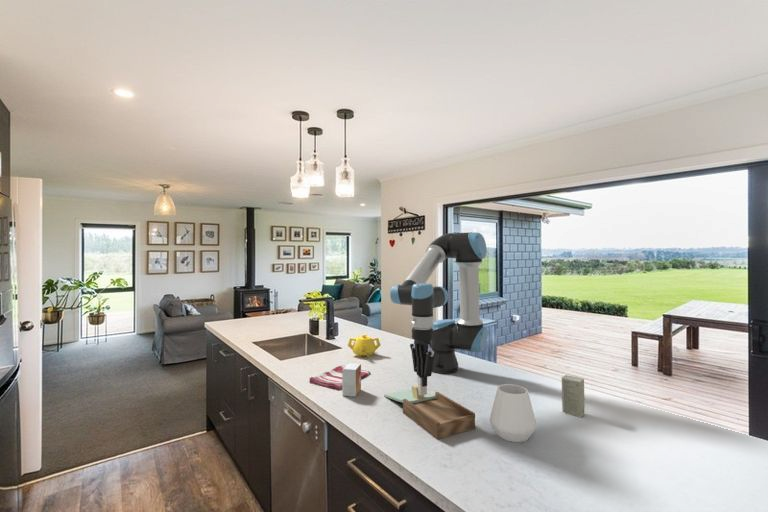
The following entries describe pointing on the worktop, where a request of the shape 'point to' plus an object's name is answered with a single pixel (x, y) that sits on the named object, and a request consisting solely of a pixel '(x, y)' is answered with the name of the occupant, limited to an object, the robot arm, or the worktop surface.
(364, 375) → the dish towel
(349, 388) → the small box
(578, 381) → the skincare box
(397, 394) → the cover plate
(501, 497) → the worktop surface
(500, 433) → the white ceramic vase
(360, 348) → the yellow sugar bowl
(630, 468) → the worktop surface
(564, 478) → the worktop surface
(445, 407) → the wooden tray
